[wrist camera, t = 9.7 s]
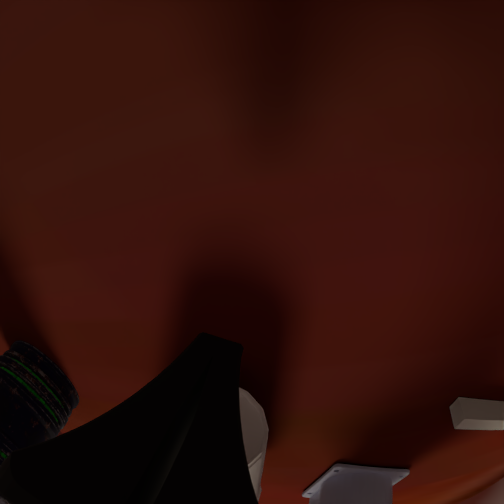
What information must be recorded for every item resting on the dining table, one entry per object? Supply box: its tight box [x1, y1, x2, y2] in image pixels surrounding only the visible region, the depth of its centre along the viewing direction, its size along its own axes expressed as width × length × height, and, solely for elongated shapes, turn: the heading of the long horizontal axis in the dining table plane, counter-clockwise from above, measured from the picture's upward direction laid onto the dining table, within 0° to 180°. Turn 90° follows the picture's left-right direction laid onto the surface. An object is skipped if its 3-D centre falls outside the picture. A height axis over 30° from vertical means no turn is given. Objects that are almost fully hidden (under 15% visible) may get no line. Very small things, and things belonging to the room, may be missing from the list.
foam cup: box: [239, 387, 269, 501], centre depth 18 cm, size 10×9×13 cm
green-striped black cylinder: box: [0, 341, 79, 504], centre depth 21 cm, size 10×10×15 cm
